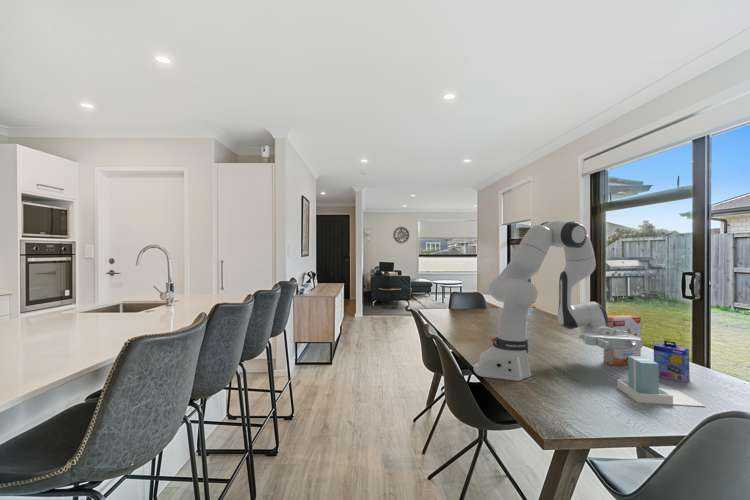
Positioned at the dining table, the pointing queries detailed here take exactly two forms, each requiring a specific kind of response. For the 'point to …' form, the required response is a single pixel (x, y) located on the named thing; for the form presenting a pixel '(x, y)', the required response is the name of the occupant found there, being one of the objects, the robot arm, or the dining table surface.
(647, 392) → the gift box
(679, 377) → the ink cartridge box
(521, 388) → the dining table surface
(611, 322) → the cracker box
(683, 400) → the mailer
